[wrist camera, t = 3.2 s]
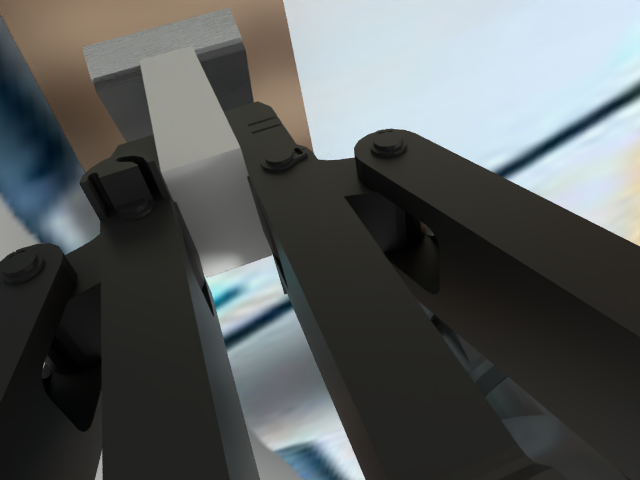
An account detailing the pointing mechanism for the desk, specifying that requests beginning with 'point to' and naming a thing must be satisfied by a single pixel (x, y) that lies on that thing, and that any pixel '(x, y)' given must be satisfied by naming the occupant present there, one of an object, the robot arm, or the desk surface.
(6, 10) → the base
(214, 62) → the silver metal piece
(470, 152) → the desk surface
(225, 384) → the robot arm
